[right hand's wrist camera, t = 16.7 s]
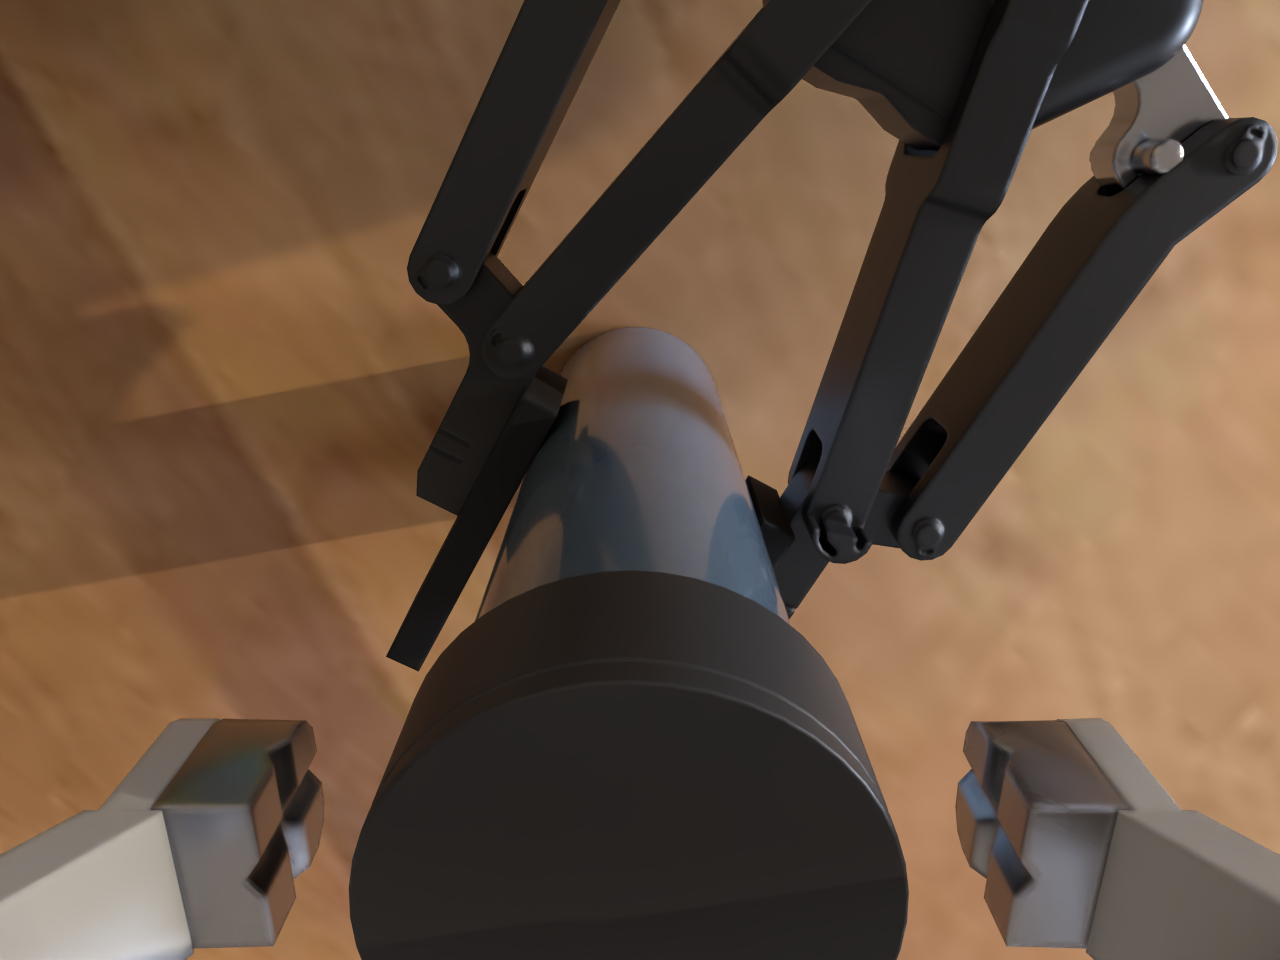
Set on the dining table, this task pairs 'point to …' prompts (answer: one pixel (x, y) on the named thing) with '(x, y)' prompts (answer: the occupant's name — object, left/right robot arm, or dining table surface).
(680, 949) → the lid
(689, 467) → the dark grey cylinder
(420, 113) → the dining table surface
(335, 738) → the dining table surface
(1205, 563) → the dining table surface
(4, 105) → the dining table surface
